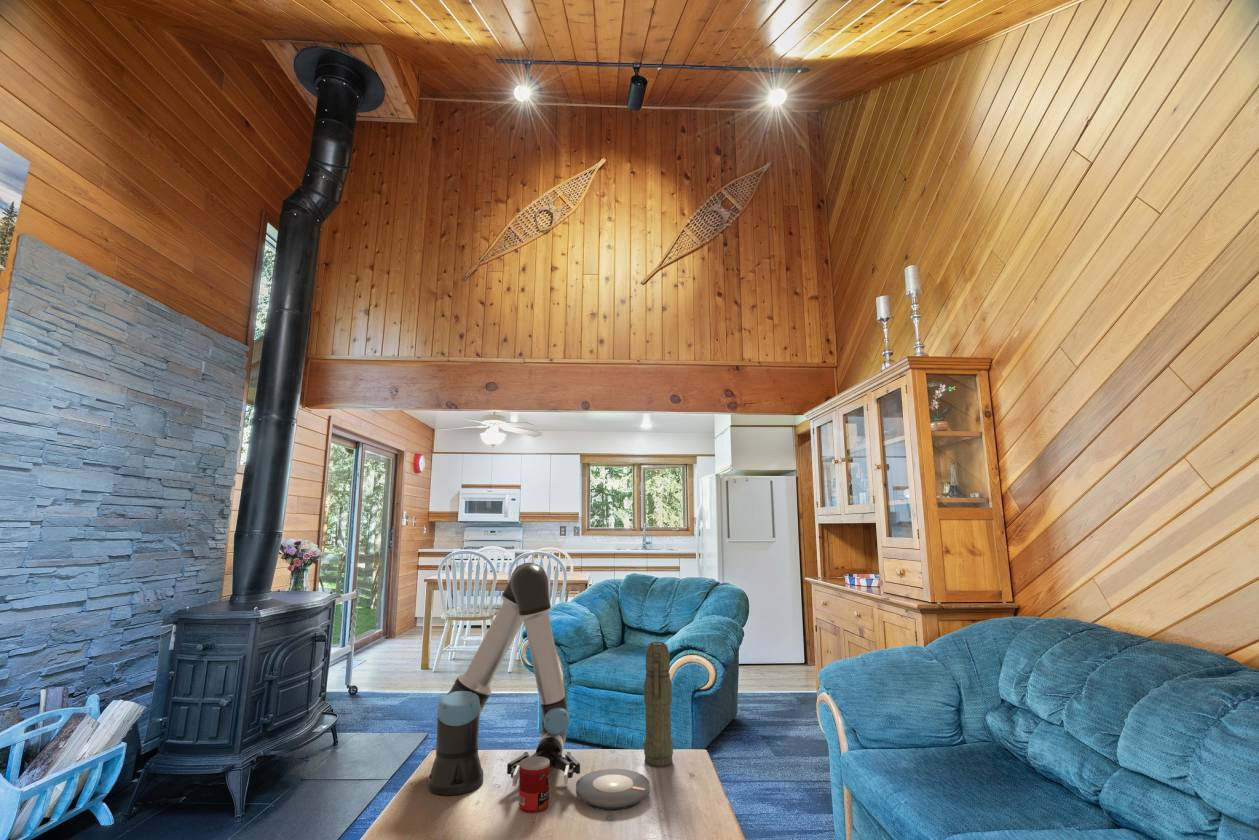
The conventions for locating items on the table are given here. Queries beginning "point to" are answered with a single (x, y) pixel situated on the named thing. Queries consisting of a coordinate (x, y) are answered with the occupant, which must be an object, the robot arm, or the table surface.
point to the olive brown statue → (658, 706)
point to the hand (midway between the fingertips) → (539, 780)
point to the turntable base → (612, 807)
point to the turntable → (612, 787)
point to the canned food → (534, 784)
